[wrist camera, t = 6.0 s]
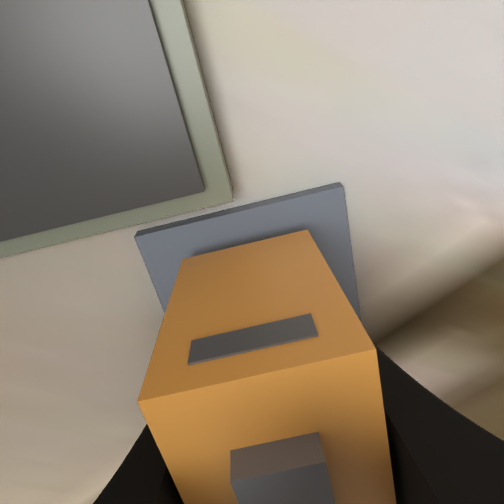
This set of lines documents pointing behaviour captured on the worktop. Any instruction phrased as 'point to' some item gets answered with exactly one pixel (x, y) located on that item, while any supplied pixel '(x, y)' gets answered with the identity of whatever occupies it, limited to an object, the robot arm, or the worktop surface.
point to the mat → (255, 235)
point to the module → (267, 382)
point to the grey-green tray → (101, 120)
